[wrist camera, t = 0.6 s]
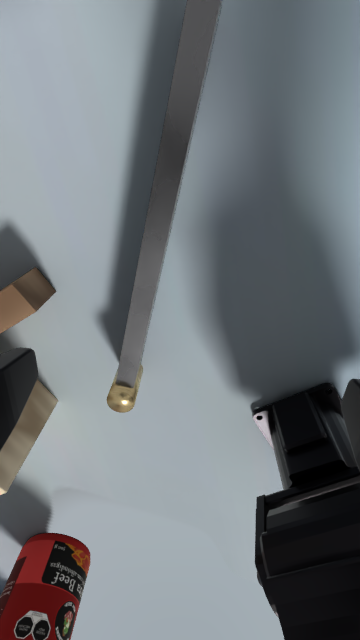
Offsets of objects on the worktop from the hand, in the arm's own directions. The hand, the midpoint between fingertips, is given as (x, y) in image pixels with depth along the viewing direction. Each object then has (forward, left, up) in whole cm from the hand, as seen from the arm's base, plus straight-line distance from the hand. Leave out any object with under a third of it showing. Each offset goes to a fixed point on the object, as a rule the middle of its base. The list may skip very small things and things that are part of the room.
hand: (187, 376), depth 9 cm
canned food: (-23, +31, -12) cm, 41 cm away
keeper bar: (+2, +1, -12) cm, 12 cm away
